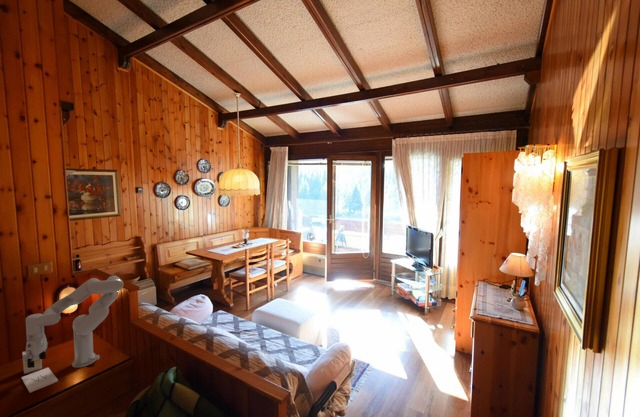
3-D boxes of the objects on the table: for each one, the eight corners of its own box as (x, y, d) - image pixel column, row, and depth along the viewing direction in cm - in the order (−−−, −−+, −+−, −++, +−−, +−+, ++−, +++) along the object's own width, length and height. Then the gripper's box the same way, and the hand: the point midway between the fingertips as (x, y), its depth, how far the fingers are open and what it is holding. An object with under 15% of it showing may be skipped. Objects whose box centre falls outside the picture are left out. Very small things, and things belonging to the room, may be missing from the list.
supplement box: (41, 366, 187) (40, 346, 186) (42, 369, 184) (41, 349, 183) (23, 371, 181) (22, 351, 180) (23, 375, 178) (22, 354, 177)
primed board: (57, 381, 172) (57, 379, 172) (29, 392, 163) (29, 390, 163) (48, 369, 184) (48, 367, 184) (21, 379, 174) (21, 377, 174)
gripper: (30, 342, 166) (32, 371, 167) (53, 327, 183) (54, 354, 184) (15, 343, 165) (17, 372, 166) (39, 328, 182) (41, 355, 183)
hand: (37, 362), depth 175 cm, fingers open, 8 cm apart
